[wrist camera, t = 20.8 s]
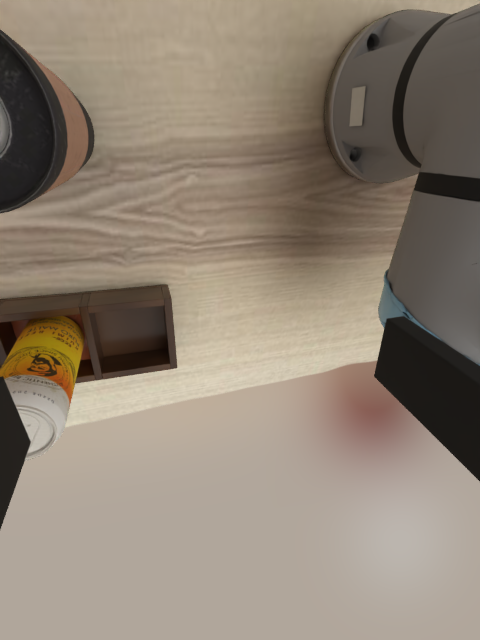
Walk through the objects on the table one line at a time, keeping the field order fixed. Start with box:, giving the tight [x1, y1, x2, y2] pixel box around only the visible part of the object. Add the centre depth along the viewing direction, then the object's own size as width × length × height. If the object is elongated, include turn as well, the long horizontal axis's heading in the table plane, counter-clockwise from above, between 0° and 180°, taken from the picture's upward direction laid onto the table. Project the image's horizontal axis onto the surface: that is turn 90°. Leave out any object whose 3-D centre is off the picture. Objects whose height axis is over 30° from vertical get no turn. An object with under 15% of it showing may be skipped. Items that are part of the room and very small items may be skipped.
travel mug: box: [0, 30, 94, 213], centre depth 21 cm, size 8×8×20 cm
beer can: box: [0, 316, 84, 460], centre depth 31 cm, size 6×6×15 cm
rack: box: [0, 285, 177, 383], centre depth 36 cm, size 26×9×4 cm, turn 90°
